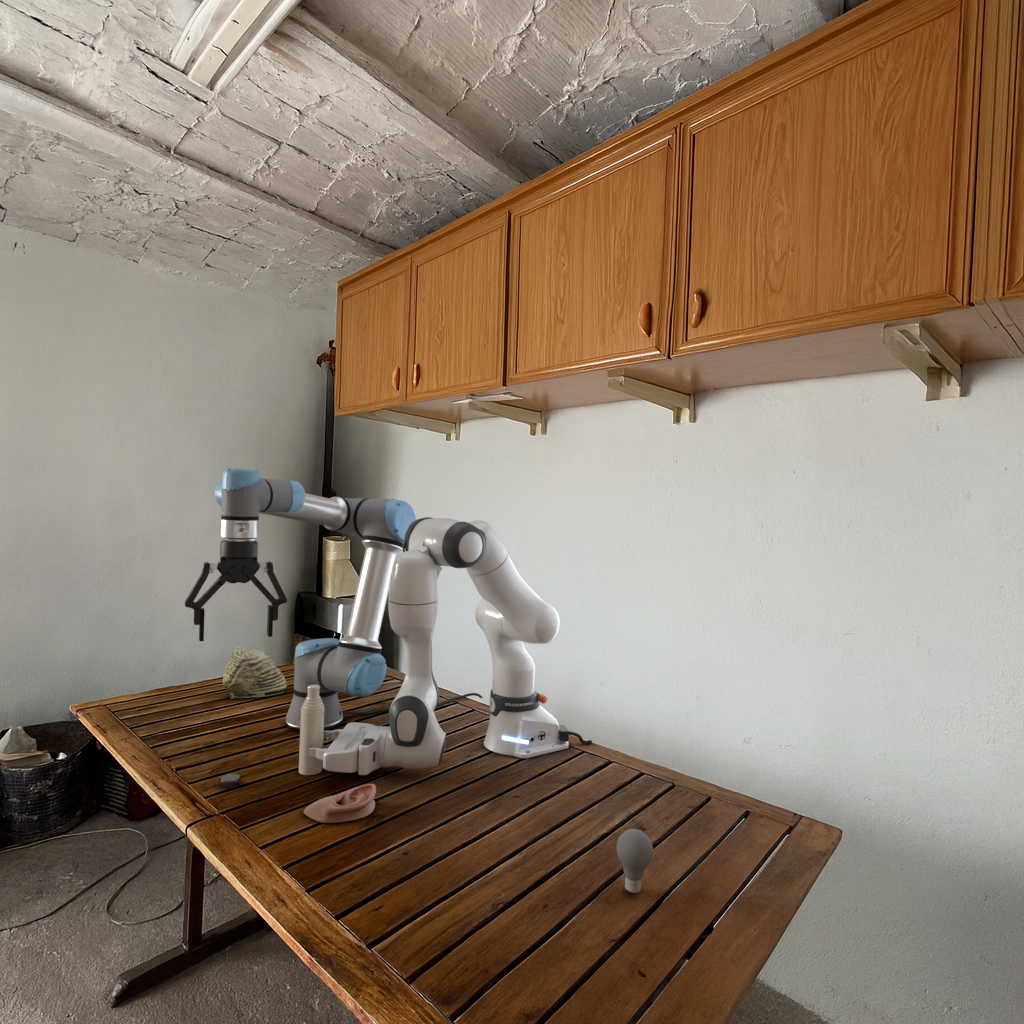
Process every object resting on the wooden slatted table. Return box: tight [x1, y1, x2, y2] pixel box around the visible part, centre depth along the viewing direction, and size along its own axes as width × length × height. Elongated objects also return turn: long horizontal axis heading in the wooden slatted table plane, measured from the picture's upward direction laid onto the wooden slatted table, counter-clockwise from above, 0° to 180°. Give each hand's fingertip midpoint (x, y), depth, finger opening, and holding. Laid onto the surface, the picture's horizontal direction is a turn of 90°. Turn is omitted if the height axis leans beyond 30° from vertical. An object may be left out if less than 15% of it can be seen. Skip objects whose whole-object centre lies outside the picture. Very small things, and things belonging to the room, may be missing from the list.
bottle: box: [298, 685, 325, 776], centre depth 146 cm, size 5×5×20 cm
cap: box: [220, 773, 241, 790], centre depth 137 cm, size 4×4×2 cm
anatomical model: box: [302, 783, 377, 824], centre depth 128 cm, size 13×4×12 cm
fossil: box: [222, 646, 288, 699], centre depth 198 cm, size 9×18×15 cm, turn 132°
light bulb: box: [615, 828, 654, 894], centre depth 106 cm, size 6×6×10 cm
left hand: (236, 637), depth 137 cm, fingers open, 13 cm apart
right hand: (315, 743), depth 146 cm, fingers open, 8 cm apart
